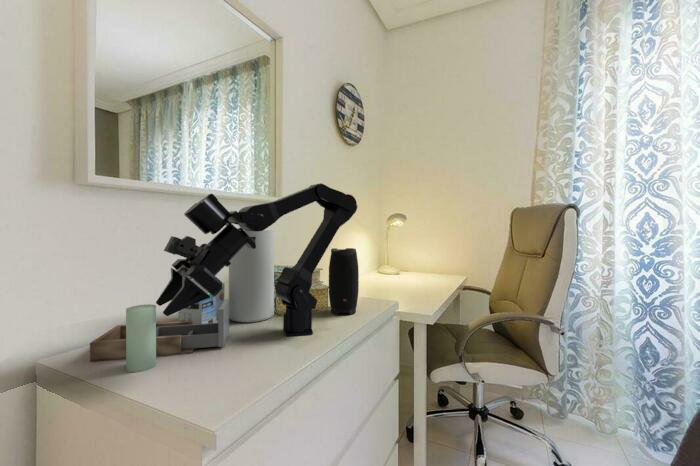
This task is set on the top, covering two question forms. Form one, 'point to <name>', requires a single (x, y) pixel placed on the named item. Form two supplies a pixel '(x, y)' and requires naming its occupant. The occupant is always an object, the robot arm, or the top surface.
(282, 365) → the top surface
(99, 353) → the dock
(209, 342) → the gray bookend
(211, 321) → the light bulb box
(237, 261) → the cylinder vase
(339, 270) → the portable speaker
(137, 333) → the pale green cylinder
